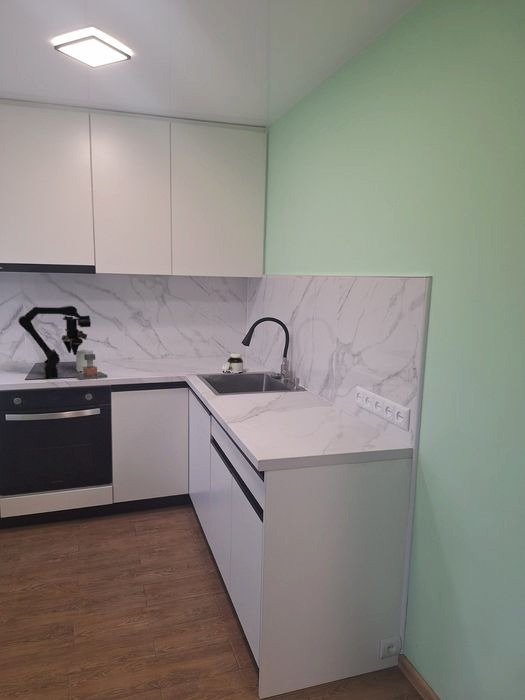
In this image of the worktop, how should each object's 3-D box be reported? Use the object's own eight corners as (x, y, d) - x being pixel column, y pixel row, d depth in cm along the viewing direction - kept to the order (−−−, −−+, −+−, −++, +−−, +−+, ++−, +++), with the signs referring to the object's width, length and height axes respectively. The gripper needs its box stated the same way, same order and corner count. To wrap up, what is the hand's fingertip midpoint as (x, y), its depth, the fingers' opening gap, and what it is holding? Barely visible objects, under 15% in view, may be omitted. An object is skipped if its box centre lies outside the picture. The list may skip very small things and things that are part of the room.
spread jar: (244, 372, 309) (245, 355, 308) (232, 375, 301) (233, 357, 299) (231, 370, 317) (231, 352, 315) (219, 372, 308) (219, 354, 306)
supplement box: (87, 372, 295) (86, 351, 293) (76, 371, 296) (75, 351, 294) (93, 370, 302) (93, 350, 300) (82, 369, 303) (82, 349, 301)
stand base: (80, 380, 271) (80, 370, 270) (73, 376, 280) (72, 366, 279) (107, 377, 282) (107, 367, 281) (100, 374, 290) (99, 364, 290)
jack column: (86, 368, 277) (86, 355, 276) (84, 367, 280) (84, 354, 279) (95, 367, 281) (95, 354, 279) (93, 366, 283) (92, 353, 282)
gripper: (91, 328, 277) (91, 355, 280) (80, 325, 291) (80, 350, 294) (71, 329, 270) (72, 356, 273) (61, 326, 284) (61, 352, 287)
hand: (72, 353), depth 282 cm, fingers open, 9 cm apart
